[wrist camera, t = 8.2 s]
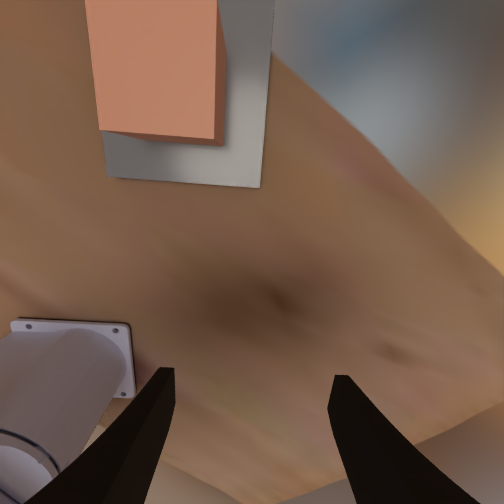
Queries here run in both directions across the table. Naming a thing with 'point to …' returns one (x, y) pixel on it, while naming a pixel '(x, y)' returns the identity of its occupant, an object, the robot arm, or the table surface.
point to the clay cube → (159, 69)
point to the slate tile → (235, 122)
